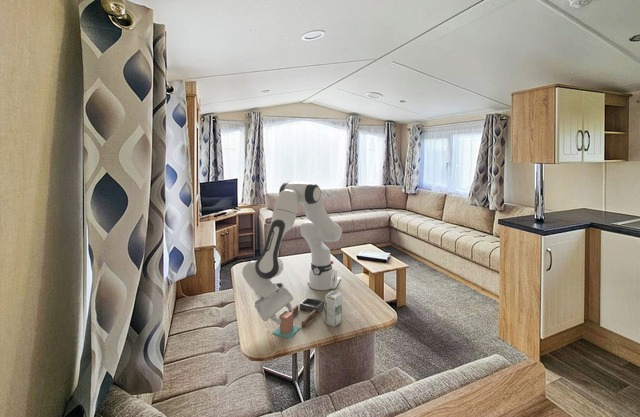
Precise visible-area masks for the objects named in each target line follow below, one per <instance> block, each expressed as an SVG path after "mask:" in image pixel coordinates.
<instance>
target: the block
mask: <svg viewBox="0 0 640 417" xmlns="http://www.w3.org/2000/svg"><path fill="white" fill-rule="evenodd" d="M288 311H289V310H288ZM288 311H287V310H284V311H283V312H282V313H281V314H280V315H279V316H278V319H281V320H282V323H280V324H279V327H280V332H283V333H286V334H288V333H289V332H290V331H291V330H292V329H293V328H294V327H293V325H294V315H293V313H292V312H288Z"/></svg>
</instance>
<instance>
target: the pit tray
mask: <svg viewBox="0 0 640 417" xmlns="http://www.w3.org/2000/svg"><path fill="white" fill-rule="evenodd" d="M323 308H325V300H321V299H318V298H314V297H308V296H307V297H306V298H305V299H304V300H303V299H302V301H301V302H300V303H299V310H301V311H307V312H310V313H311V312H312V311H313V310H316V314H318V313H319V312H320V311H322V309H323Z"/></svg>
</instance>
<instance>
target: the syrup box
mask: <svg viewBox="0 0 640 417" xmlns="http://www.w3.org/2000/svg"><path fill="white" fill-rule="evenodd" d="M324 296H325V297H324V308H325V309H324V310H325V311H324V312H325V313H324V315H325V316H324V317H325V318H324V321H325V322H324V324H326V325H328V326H331V327H334V328H335V327H337V326H338V325H340V324H341V323H342V322H343V293H341V292H338V291H336V290H331V291H330V292H328V293H326V294H325V295H324Z"/></svg>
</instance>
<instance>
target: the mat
mask: <svg viewBox="0 0 640 417" xmlns="http://www.w3.org/2000/svg"><path fill="white" fill-rule="evenodd" d="M293 327H294V328H293V329H292V330H291V331H290V332H289V333H288V334H286V333H283V332H280V326H278V327H277V328H276V329H275V330H274V331H273V332H272V333H271V334H273V335H276V336H279V337H282V338H285V339H288V340H290V339H291V338H292V337H293V336H295V335H296V334H297V333H298V331H300V330H301V328H302V326H301V327H300V326H296V325H294V324H293Z"/></svg>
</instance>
